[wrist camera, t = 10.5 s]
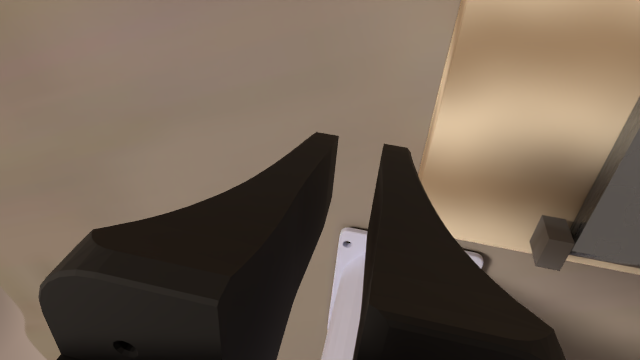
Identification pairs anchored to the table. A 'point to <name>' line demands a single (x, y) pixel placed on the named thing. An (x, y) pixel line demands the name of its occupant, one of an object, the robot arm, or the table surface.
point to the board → (530, 119)
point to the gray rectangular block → (613, 204)
